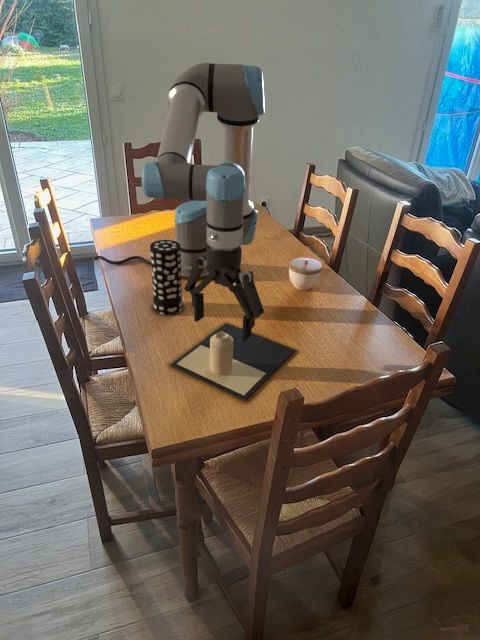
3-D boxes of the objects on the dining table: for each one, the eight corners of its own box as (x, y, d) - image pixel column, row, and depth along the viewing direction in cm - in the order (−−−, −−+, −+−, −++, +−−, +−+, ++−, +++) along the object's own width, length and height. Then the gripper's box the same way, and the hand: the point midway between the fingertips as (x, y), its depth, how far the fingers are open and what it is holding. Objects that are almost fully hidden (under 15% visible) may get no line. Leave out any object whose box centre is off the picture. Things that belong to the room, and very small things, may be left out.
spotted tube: (186, 304, 142) (185, 242, 131) (174, 317, 135) (172, 253, 125) (162, 298, 144) (158, 237, 134) (148, 311, 138) (144, 248, 127)
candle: (209, 361, 117) (209, 328, 112) (231, 361, 118) (232, 328, 113) (210, 375, 113) (210, 341, 107) (232, 375, 113) (234, 341, 108)
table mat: (170, 365, 116) (170, 364, 116) (225, 324, 134) (225, 322, 133) (245, 401, 106) (245, 399, 106) (294, 351, 124) (294, 349, 123)
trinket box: (318, 295, 150) (322, 269, 145) (285, 290, 152) (287, 264, 147) (320, 280, 159) (323, 255, 154) (288, 276, 161) (291, 251, 156)
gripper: (166, 235, 101) (170, 317, 112) (266, 267, 90) (259, 355, 101) (188, 225, 106) (190, 305, 118) (284, 254, 95) (276, 339, 107)
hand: (222, 328), depth 110 cm, fingers open, 13 cm apart
